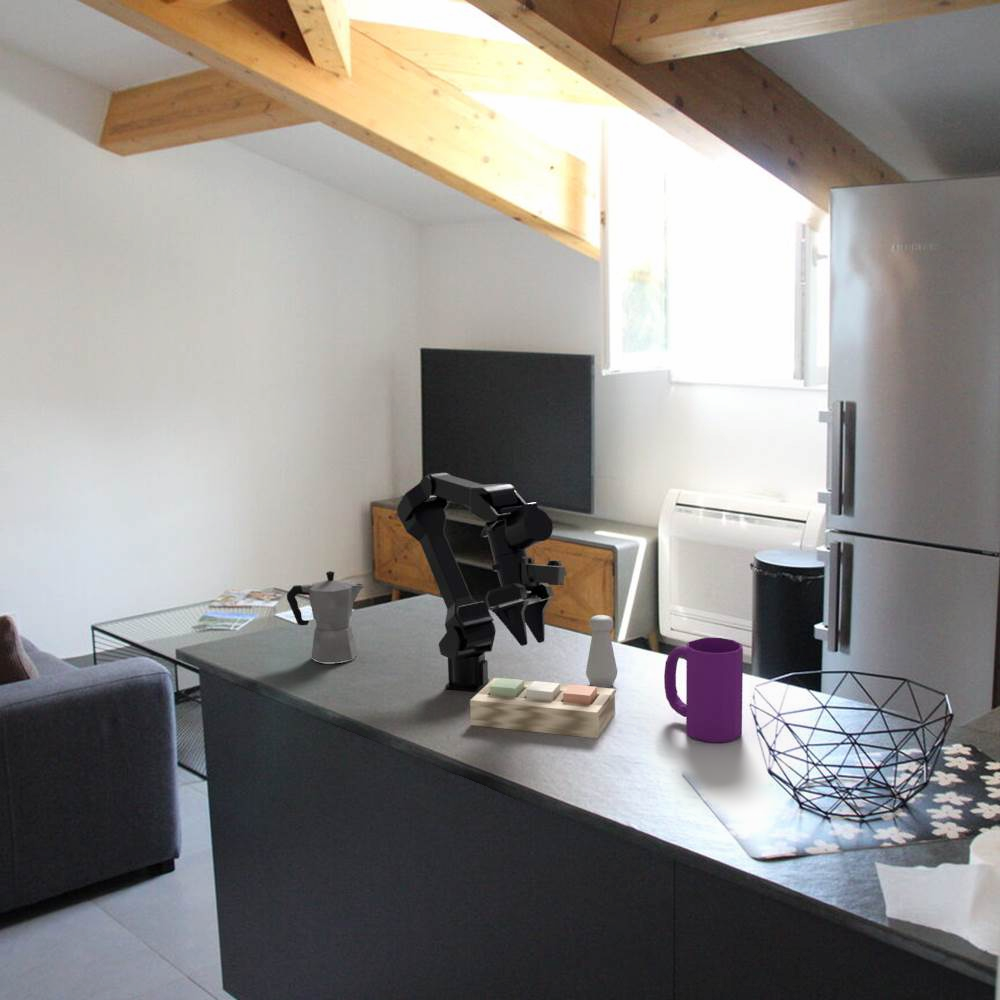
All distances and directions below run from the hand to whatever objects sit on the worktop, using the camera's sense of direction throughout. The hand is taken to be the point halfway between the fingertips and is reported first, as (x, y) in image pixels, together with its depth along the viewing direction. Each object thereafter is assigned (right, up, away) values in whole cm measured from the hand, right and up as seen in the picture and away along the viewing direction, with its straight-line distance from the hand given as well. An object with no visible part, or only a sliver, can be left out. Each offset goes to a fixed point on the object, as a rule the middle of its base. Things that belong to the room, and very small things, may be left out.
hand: (533, 643), depth 197 cm
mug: (+27, -13, -6) cm, 31 cm away
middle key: (+2, -11, 0) cm, 11 cm away
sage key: (-4, -10, +2) cm, 11 cm away
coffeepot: (-40, -8, +37) cm, 55 cm away
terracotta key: (+8, -11, -3) cm, 13 cm away
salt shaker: (+13, -10, +17) cm, 24 cm away
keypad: (+2, -13, 0) cm, 13 cm away
